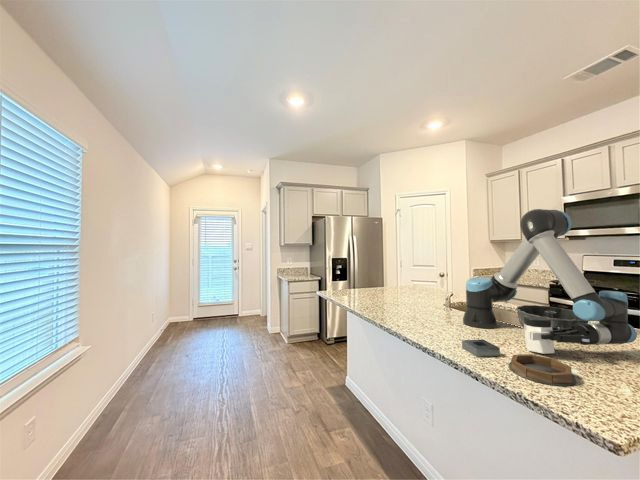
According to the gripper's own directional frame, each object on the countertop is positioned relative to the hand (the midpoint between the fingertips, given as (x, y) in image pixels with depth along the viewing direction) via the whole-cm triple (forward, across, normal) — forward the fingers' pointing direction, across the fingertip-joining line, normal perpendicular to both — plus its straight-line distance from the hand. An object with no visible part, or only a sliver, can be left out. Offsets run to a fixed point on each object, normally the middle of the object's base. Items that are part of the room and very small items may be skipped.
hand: (530, 335), depth 101 cm
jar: (-7, +3, -7) cm, 10 cm away
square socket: (+15, +6, -8) cm, 18 cm away
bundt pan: (-32, +24, -8) cm, 40 cm away
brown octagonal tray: (+7, -12, -8) cm, 16 cm away
